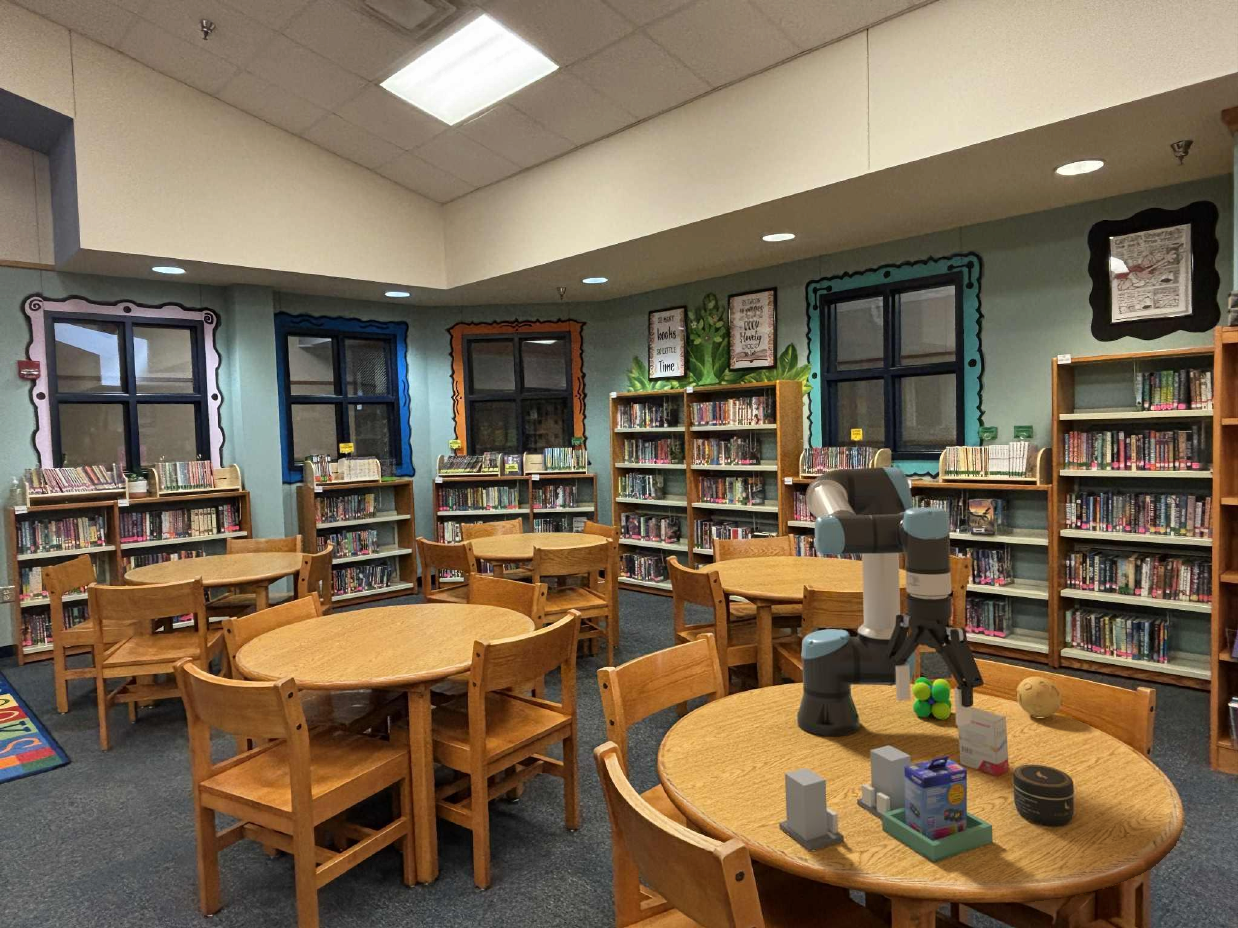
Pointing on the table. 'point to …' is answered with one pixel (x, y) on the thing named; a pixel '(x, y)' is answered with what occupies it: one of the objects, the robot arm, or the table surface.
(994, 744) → the ink box
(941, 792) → the ink cartridge box
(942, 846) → the tray
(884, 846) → the table surface
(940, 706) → the molecule model
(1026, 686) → the stress ball
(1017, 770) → the jar
